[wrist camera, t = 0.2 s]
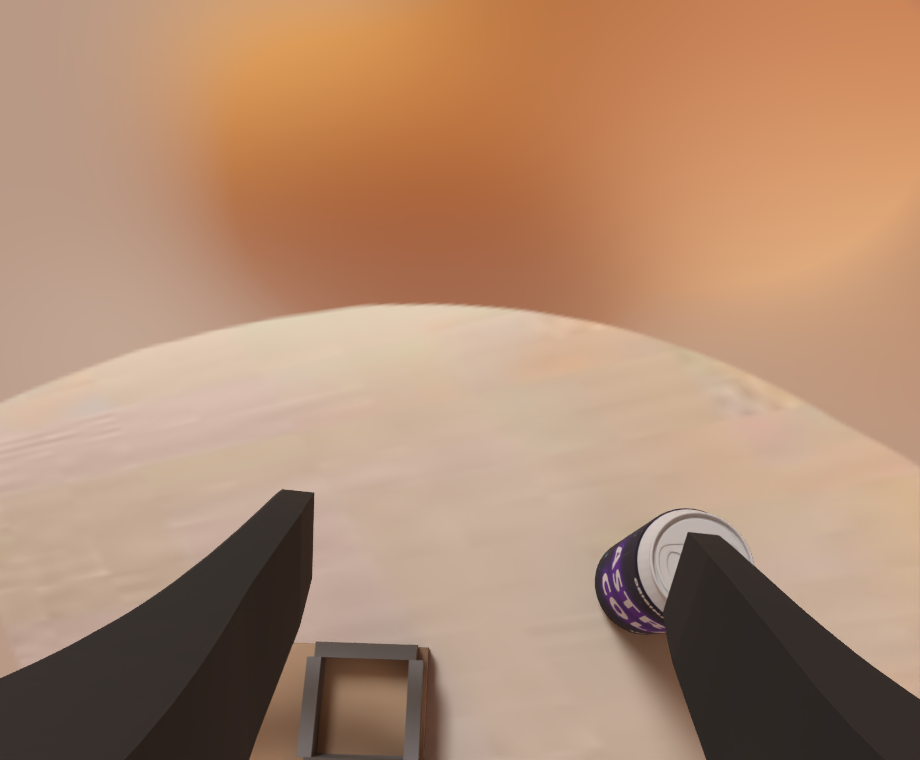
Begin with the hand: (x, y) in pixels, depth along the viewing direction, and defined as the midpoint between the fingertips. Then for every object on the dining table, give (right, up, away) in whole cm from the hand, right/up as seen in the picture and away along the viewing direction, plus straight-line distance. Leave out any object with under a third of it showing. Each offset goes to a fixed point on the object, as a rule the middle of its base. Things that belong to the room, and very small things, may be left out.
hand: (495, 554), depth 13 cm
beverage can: (+11, -10, +30) cm, 33 cm away
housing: (-8, -18, +26) cm, 32 cm away
